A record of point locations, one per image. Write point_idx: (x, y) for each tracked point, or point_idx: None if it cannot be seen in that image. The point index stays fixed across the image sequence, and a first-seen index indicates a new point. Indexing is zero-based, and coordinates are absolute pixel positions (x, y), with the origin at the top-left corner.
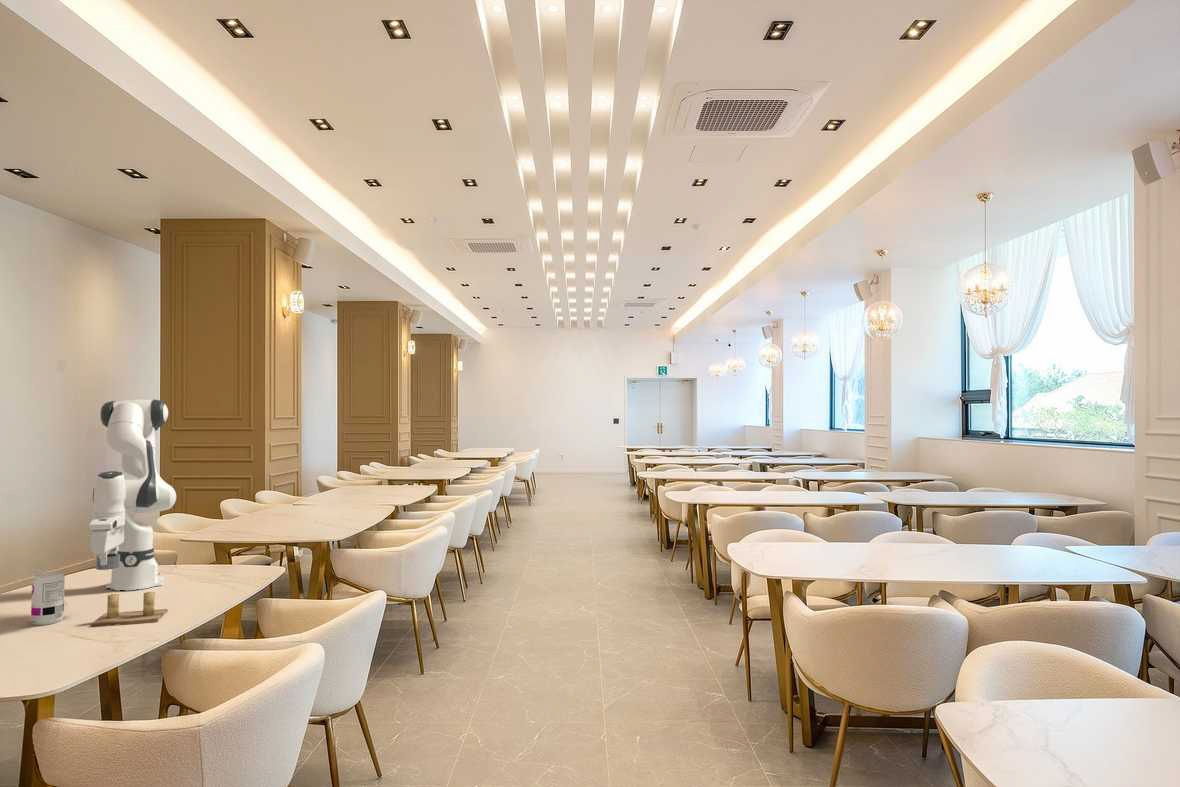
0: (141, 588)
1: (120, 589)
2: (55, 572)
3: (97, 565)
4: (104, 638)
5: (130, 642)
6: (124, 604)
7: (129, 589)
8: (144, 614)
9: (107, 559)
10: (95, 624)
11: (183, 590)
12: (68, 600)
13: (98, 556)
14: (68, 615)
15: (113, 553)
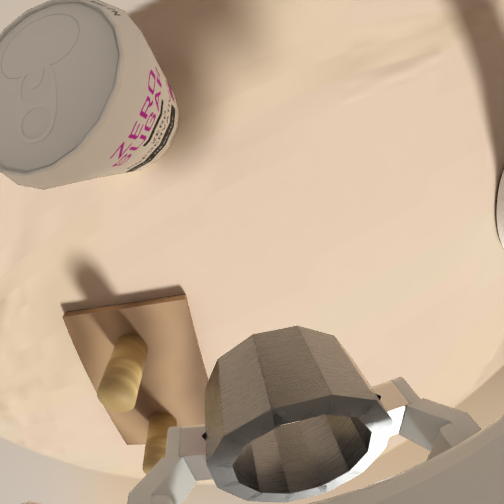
0: (500, 237)
1: (502, 184)
2: (117, 68)
3: (217, 383)
4: (3, 378)
5: (4, 422)
6: (352, 276)
7: (498, 210)
8: (150, 419)
9: (203, 477)
10: (68, 325)
11: (454, 351)
12: (432, 63)
13: (274, 423)
14: (220, 145)
15: (408, 429)
